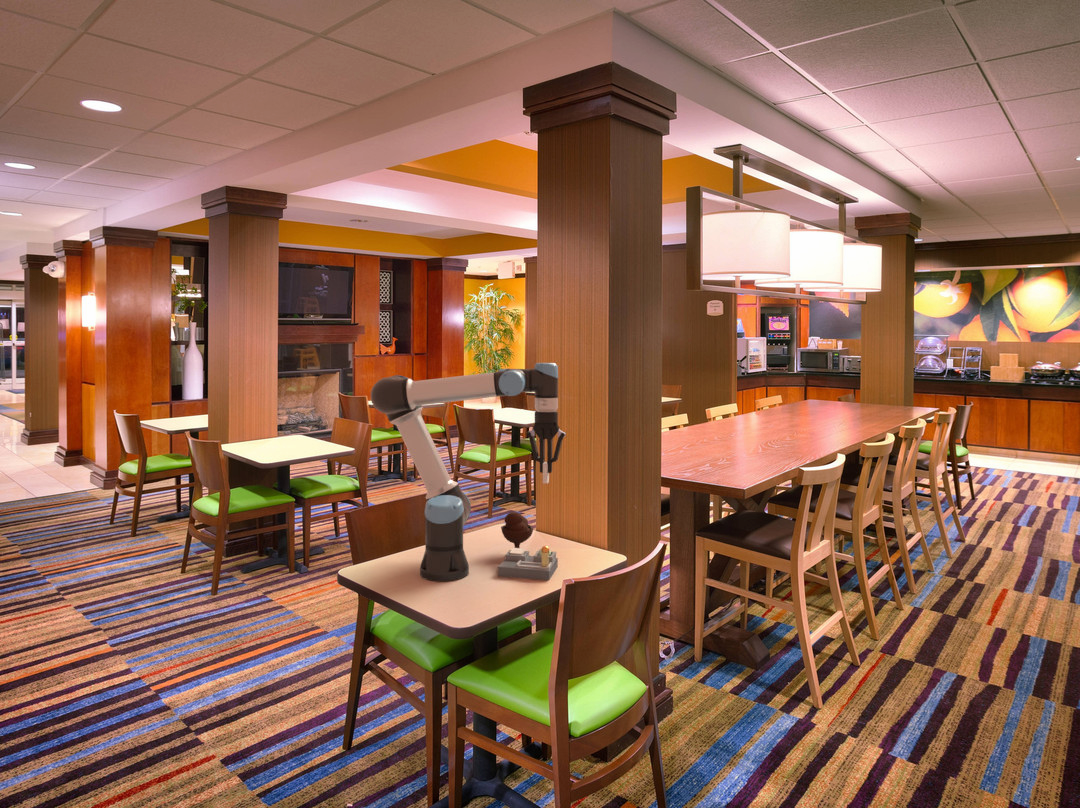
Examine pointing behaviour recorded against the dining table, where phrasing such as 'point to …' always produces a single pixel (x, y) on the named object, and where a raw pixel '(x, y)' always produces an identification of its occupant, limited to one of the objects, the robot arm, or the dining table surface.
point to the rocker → (517, 551)
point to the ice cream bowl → (516, 528)
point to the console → (527, 566)
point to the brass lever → (545, 556)
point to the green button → (541, 553)
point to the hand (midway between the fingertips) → (545, 482)
